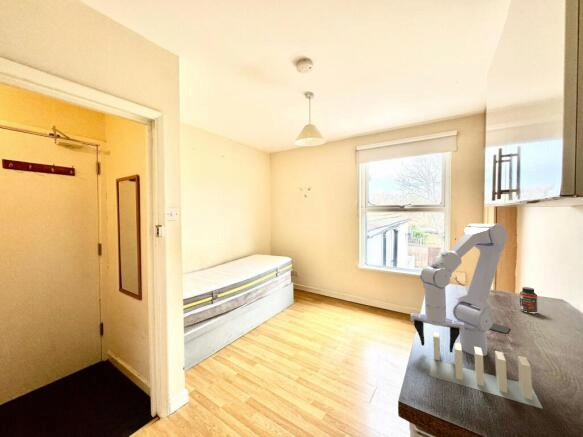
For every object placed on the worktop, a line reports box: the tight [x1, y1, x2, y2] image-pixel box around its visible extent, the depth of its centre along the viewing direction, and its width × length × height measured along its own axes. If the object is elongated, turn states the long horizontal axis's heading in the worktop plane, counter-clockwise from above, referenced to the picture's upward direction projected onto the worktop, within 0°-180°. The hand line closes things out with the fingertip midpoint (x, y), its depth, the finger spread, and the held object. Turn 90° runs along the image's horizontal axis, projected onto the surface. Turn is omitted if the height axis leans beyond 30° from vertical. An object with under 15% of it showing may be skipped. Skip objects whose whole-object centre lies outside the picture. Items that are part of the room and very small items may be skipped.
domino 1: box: [454, 341, 463, 380], centre depth 66 cm, size 4×2×8 cm, turn 146°
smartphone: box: [488, 323, 511, 335], centre depth 99 cm, size 7×1×15 cm
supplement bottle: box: [519, 286, 539, 312], centre depth 112 cm, size 6×6×11 cm
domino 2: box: [473, 346, 485, 386], centre depth 64 cm, size 4×2×8 cm, turn 146°
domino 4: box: [517, 355, 533, 400], centre depth 59 cm, size 4×2×8 cm, turn 146°
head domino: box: [432, 331, 441, 361], centre depth 76 cm, size 4×2×8 cm, turn 146°
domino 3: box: [494, 350, 508, 393], centre depth 61 cm, size 4×2×8 cm, turn 146°
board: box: [429, 359, 544, 410], centre depth 64 cm, size 9×22×1 cm, turn 57°
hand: (436, 347), depth 76 cm, fingers open, 7 cm apart
